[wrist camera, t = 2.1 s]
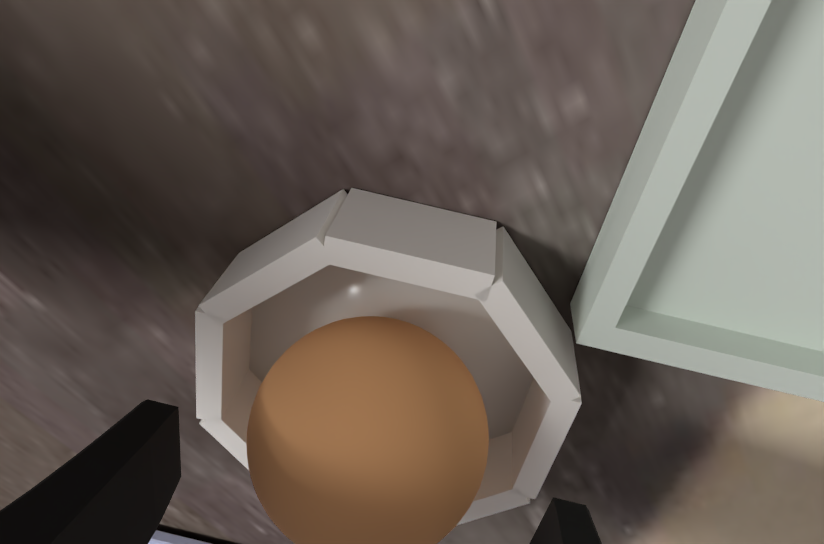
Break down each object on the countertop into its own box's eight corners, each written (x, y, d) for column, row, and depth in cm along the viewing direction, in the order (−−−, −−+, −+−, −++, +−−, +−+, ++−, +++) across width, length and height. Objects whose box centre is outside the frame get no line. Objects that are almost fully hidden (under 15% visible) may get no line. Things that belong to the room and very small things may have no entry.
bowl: (506, 488, 17) (506, 559, 15) (230, 422, 17) (197, 484, 15) (610, 248, 13) (628, 306, 11) (239, 161, 13) (193, 204, 11)
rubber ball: (464, 449, 16) (449, 645, 12) (283, 405, 16) (204, 585, 12) (516, 301, 13) (521, 485, 9) (299, 249, 13) (202, 408, 9)
